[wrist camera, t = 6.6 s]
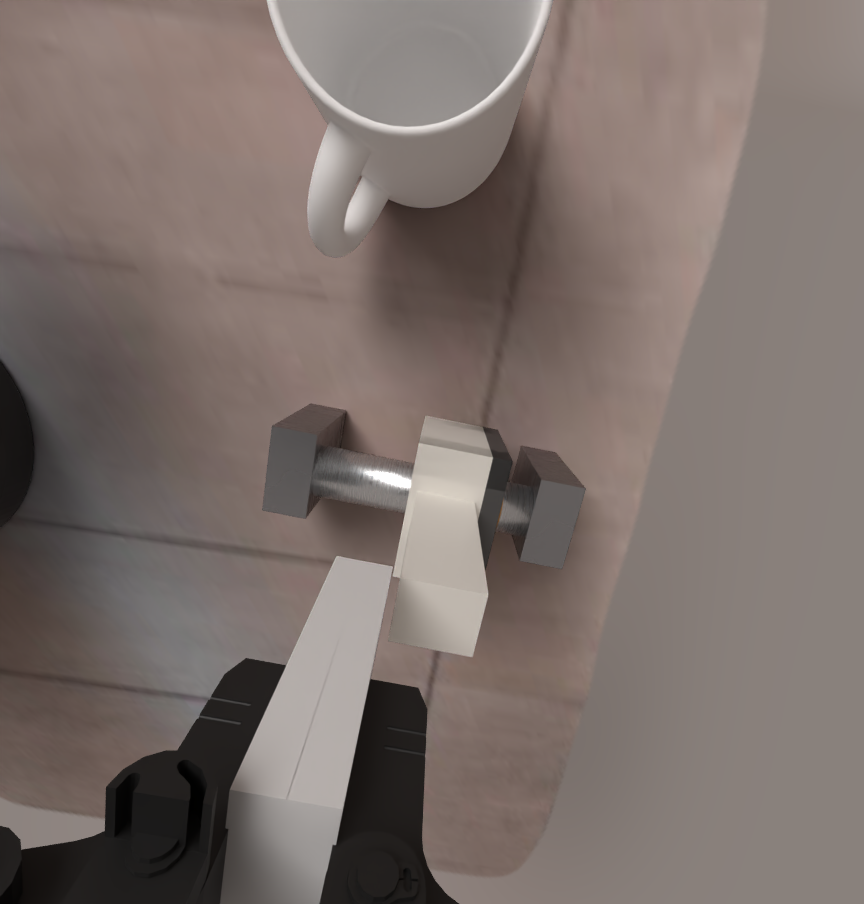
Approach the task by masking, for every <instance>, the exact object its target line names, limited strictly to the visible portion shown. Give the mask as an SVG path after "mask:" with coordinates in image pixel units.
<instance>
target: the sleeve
mask: <svg viewBox="0 0 864 904" xmlns="http://www.w3.org/2000/svg"><path fill="white" fill-rule="evenodd" d="M512 462H513V461H512V459H511V457H510V455H509V453H508V451H507V448H506V446H505V444H504V442H503V440H502V438H501V436H500V434H499V431H498V430H495V429H491V428H486V427H481V426H476V425H471V424H466V423H461V422H456V421H451V420H446V419H441V418H436V417H431V416H425V420H424V424H423V428H422V432H421V436H420V440H419V445H418V450H417V455H416V460H415V465H414V470H413V475H412V480H411V486H410V491H409V496H408V501H407V506H406V511H405V516H404V521H403V526H402V531H401V536H400V541H399V547H398V552H397V557H396V562H395V567H394V572H393V577H398V578H400V580H399V586H398V591H397V596H396V601H395V607H394V612H393V617H392V622H391V628H390V633H389V638H388V641H390V642H395V643H400V644H406V645H411V646H416V647H421V648H426V649H432V650H437V651H442V652H447V653H452V654H458V655H463V656H468V657H473V653H474V649H475V645H476V641H477V638H478V634H479V630H480V626H481V622H482V618H483V614H484V610H485V606H486V602H487V599H488V588H487V582H486V575H485V570H486V566H487V562H488V558H489V554H490V550H491V546H492V542H493V538H494V534H495V530H496V526H497V522H498V518H499V514H500V510H501V506H502V502H503V498H504V494H505V490H506V486H507V482H508V478H509V474H510V470H511V466H512Z"/></svg>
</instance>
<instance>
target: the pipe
mask: <svg viewBox="0 0 864 904" xmlns="http://www.w3.org/2000/svg"><path fill="white" fill-rule="evenodd" d="M345 415H346V411H345V410H340V409H335V408H330V407H325V406H321V405H316V404H309V405H308V406H306V407H304V408H302V409H301V410H299V411H297V412H295V413H294V414H292V415H290V416H288V417H287V418H285V419H283V420H281V421H280V422H278V423H276V424H275V425H273V426H272V430H271V439H270V447H269V456H268V465H267V474H266V482H265V491H264V500H263V508H262V510H263V511H268V512H273V513H278V514H283V515H288V516H293V517H299V518H304V519H306V518H307V516H308V515H309V513H310V512H311V511H312V509H313V508H314V507H315V505H316V504H317V503H318V501H319V500H320V498H321V497H324V498H329V499H334V500H339V501H344V502H349V503H354V504H359V505H364V506H369V507H374V508H379V509H385V510H390V511H395V512H400V513H405V511H406V506H407V501H408V496H409V491H410V486H411V480H412V475H413V470H414V465H415V463H411V462H406V461H401V460H396V459H391V458H386V457H381V456H376V455H370V454H365V453H360V452H355V451H350V450H345V449H340V447H341V441H342V434H343V428H344V421H345ZM585 490H586V488H585V487H584V486H583V485H582V483H581V482H580V481H579V480H578V479H577V477H576V476H575V475H574V474H573V473H572V471H571V470H570V469H569V468H568V467H567V466H566V464H565V463H564V462H563V461H562V460H561V458H560V457H559V456H558V455H557V454H556V453H555V452H550V451H545V450H540V449H535V448H530V447H525V446H521V448H520V452H519V456H518V460H517V464H516V468H515V472H514V476H513V480H512V483H511V482H507V486H506V490H505V494H504V498H503V502H502V506H501V510H500V514H499V518H498V522H497V526H496V530H495V531H496V532H501V533H506V534H511V535H512V537H513V540H514V544H515V547H516V550H517V554H518V557H519V560H520V561H523V562H528V563H533V564H538V565H543V566H548V567H553V568H559V569H562V568H563V564H564V561H565V558H566V554H567V551H568V547H569V544H570V541H571V537H572V534H573V531H574V527H575V524H576V520H577V517H578V514H579V510H580V507H581V504H582V500H583V497H584V493H585Z"/></svg>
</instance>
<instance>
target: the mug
mask: <svg viewBox="0 0 864 904" xmlns="http://www.w3.org/2000/svg"><path fill="white" fill-rule="evenodd" d="M267 4H268V8H269V13H270V17H271V20H272V23H273V26H274V29H275V32H276V35H277V37H278V40H279V42H280V44H281V46H282V48H283V51H284V53H285V55H286V57H287V59H288V60H289V62H290V64H291V65H292V67H293V69H294V70H295V72H296V74H297V75H298V77H299V78H300V80H301V82H302V83H303V85H304V87H305V88H306V90H307V92H308V93H309V95H310V97H311V98H312V100H313V101H314V103H315V105H316V106H317V108H318V110H319V112H320V113H321V115H322V117H323V118H324V120H325V122H326V123H327V125H328V127H327V130H326V133H325V135H324V138H323V141H322V143H321V146H320V149H319V152H318V156H317V159H316V162H315V166H314V170H313V173H312V178H311V183H310V188H309V195H308V208H307V215H308V228H309V232H310V236H311V238H312V240H313V242H314V244H315V246H316V248H317V249H318V250H320V251H321V252H322V253H323V254H324V255H326V256H329V257H333V258H338V257H343V256H346V255H347V254H349V253H350V252H352V251H354V250H355V249H356V248H357V247H358V246H359V245H360V243H361V242H362V241H363V240H364V238H365V237H366V236H367V234H368V233H369V231H370V230H371V228H372V227H373V225H374V223H375V222H376V220H377V218H378V217H379V215H380V213H381V211H382V210H383V208H384V206H385V204H386V202H387V201H388V199H389V200H391V201H394V202H396V203H399V204H401V205H405V206H409V207H415V208H435V207H440V206H445V205H448V204H451V203H454V202H456V201H458V200H460V199H462V198H464V197H465V196H467V195H468V194H470V193H471V192H473V191H474V190H475V189H476V188H477V187H478V186H480V185H481V184H482V183H483V182H484V181H485V180H486V178H487V177H488V176H489V175H490V174H491V173H492V171H493V170H494V168H495V167H496V165H497V164H498V162H499V160H500V158H501V156H502V154H503V152H504V150H505V148H506V146H507V143H508V140H509V138H510V135H511V132H512V129H513V126H514V123H515V120H516V117H517V114H518V111H519V108H520V105H521V102H522V99H523V96H524V93H525V90H526V87H527V84H528V81H529V78H530V74H531V71H532V68H533V65H534V62H535V59H536V56H537V53H538V50H539V47H540V44H541V41H542V38H543V35H544V32H545V29H546V26H547V23H548V20H549V16H550V12H551V8H552V4H553V0H267ZM359 176H361V177H362V178H361V181H360V183H359V185H358V187H357V189H356V191H355V193H354V195H353V197H352V199H351V196H352V193H353V190H354V188H355V185H356V183H357V181H358V178H359ZM350 199H351V201H350ZM349 202H350V203H349Z"/></svg>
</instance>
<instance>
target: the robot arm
mask: <svg viewBox="0 0 864 904" xmlns="http://www.w3.org/2000/svg"><path fill="white" fill-rule="evenodd" d="M33 454H34V451H33V439H32V432H31V427H30V422H29V419H28V415H27V412H26V409H25V406H24V404H23V401H22V399H21V397H20V394H19V392H18V390H17V388H16V386H15V384H14V383H13V381H12V379H11V378H10V376H9V374H8V373H7V371H6V370H5V368H4V367H3V365H2V364H1V363H0V527H1V526H2V525H3V524H4V523H5V522H7V521H8V520H9V518H10V517H11V516H12V515H13V514H14V513H15V511H16V510H17V509H18V507H19V506H20V504H21V502H22V500H23V498H24V496H25V494H26V492H27V489H28V486H29V483H30V479H31V475H32V469H33ZM392 569H393V567H392V566H387V565H382V564H377V563H371V562H366V561H361V560H356V559H350V558H345V557H340V556H336V558H335V560H334V562H333V565H332V567H331V569H330V571H329V573H328V576H327V578H326V580H325V582H324V584H323V587H322V589H321V591H320V593H319V595H318V597H317V600H316V602H315V604H314V606H313V608H312V611H311V613H310V615H309V617H308V619H307V622H306V624H305V626H304V628H303V630H302V632H301V635H300V637H299V639H298V641H297V643H296V646H295V648H294V650H293V652H292V654H291V657H290V659H289V661H288V663H287V665H281V664H275V663H270V662H264V661H259V660H254V659H248V658H246V659H244V660H243V661H242V662H240V663H239V664H238V665H236V666H235V667H234V668H232V669H231V670H230V671H228V672H227V673H226V674H225V675H224V676H223V678H222V679H221V681H220V683H219V684H218V686H217V687H216V689H215V691H214V692H213V694H212V696H211V699H210V700H208V702H207V704H206V705H205V707H204V708H203V710H202V712H201V713H200V716H199V719H197V720H196V721H195V723H194V725H193V726H192V728H191V729H190V731H189V733H188V734H187V736H186V737H185V739H184V741H183V742H182V744H181V745H180V747H179V749H178V750H177V751H163V752H160V753H156V754H153V755H149V756H146V757H143V758H142V759H140V760H138V761H137V762H135V763H133V764H132V765H130V766H128V767H126V768H125V769H123V770H122V771H121V772H120V773H119V774H118V775H117V776H116V777H115V778H114V779H113V780H112V781H111V782H110V784H109V785H108V786H107V787H106V810H105V831H104V832H102V833H100V834H97V835H95V836H92V837H89V838H85V839H81V840H77V841H73V842H67V843H60V844H54V845H48V846H42V847H36V848H30V849H23V850H21V842H20V839H19V838H18V837H17V836H16V835H15V834H14V833H13V832H12V831H11V830H10V829H9V828H6V827H2V826H0V904H459V903H457V902H456V901H455V900H453V899H452V898H451V897H449V896H448V895H447V894H446V893H445V892H444V891H443V889H442V888H441V887H440V886H439V885H438V884H437V882H436V881H435V879H434V878H433V876H432V874H431V872H430V870H429V868H428V866H427V863H426V860H425V856H424V853H423V844H422V823H423V799H424V775H425V751H426V727H427V707H426V705H425V703H424V700H423V698H422V696H421V693H420V691H419V689H418V688H416V687H411V686H405V685H400V684H394V683H389V682H383V681H378V680H372V679H371V675H372V670H373V665H374V661H375V656H376V651H377V646H378V640H379V635H380V630H381V625H382V620H383V615H384V610H385V605H386V600H387V594H388V589H389V584H390V579H391V574H392Z"/></svg>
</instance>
